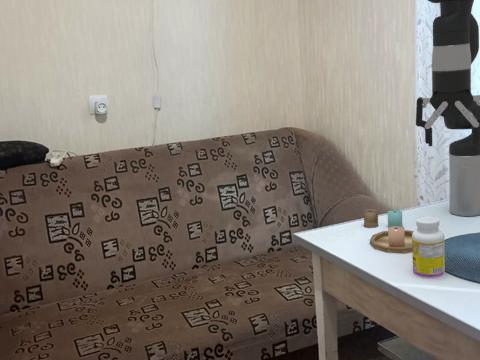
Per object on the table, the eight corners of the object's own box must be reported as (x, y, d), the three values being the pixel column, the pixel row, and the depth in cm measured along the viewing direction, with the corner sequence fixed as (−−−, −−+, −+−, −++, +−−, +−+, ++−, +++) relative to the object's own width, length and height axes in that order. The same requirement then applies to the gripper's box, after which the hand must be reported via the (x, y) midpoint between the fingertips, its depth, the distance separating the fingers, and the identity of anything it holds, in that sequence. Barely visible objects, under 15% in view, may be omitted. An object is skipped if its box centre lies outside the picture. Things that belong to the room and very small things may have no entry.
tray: (376, 235, 156) (376, 228, 155) (431, 238, 150) (431, 231, 149) (365, 254, 143) (364, 246, 143) (424, 258, 137) (424, 250, 137)
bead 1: (365, 226, 164) (365, 208, 163) (379, 226, 162) (379, 209, 161) (362, 230, 161) (362, 212, 159) (376, 231, 159) (376, 213, 158)
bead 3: (390, 244, 146) (389, 225, 144) (405, 245, 144) (405, 226, 143) (387, 250, 142) (386, 230, 141) (403, 251, 141) (402, 231, 140)
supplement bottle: (416, 268, 132) (415, 214, 129) (446, 271, 129) (446, 215, 126) (409, 279, 126) (408, 223, 124) (441, 283, 123) (441, 225, 120)
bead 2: (389, 227, 161) (388, 209, 160) (403, 227, 160) (403, 210, 158) (386, 231, 158) (386, 213, 157) (401, 232, 156) (400, 214, 155)
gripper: (488, 63, 121) (487, 140, 124) (416, 68, 126) (417, 142, 129) (489, 66, 114) (489, 148, 118) (413, 71, 119) (415, 149, 123)
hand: (451, 145), depth 123 cm, fingers open, 8 cm apart
